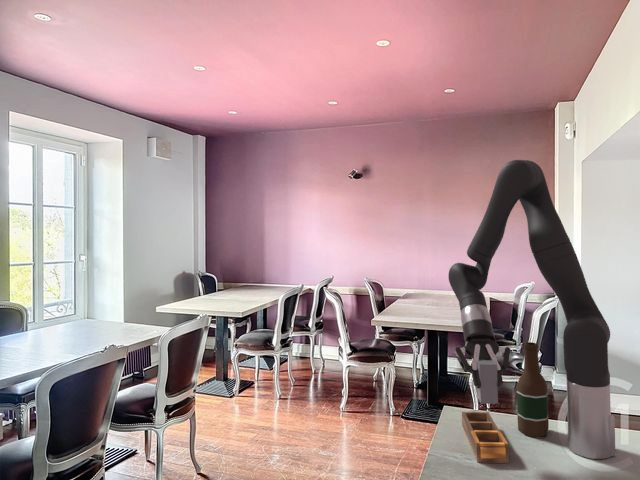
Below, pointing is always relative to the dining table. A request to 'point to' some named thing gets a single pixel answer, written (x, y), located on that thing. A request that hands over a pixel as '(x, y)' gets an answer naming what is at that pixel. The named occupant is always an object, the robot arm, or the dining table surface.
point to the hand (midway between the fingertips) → (489, 386)
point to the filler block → (487, 382)
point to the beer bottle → (532, 396)
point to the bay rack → (485, 437)
